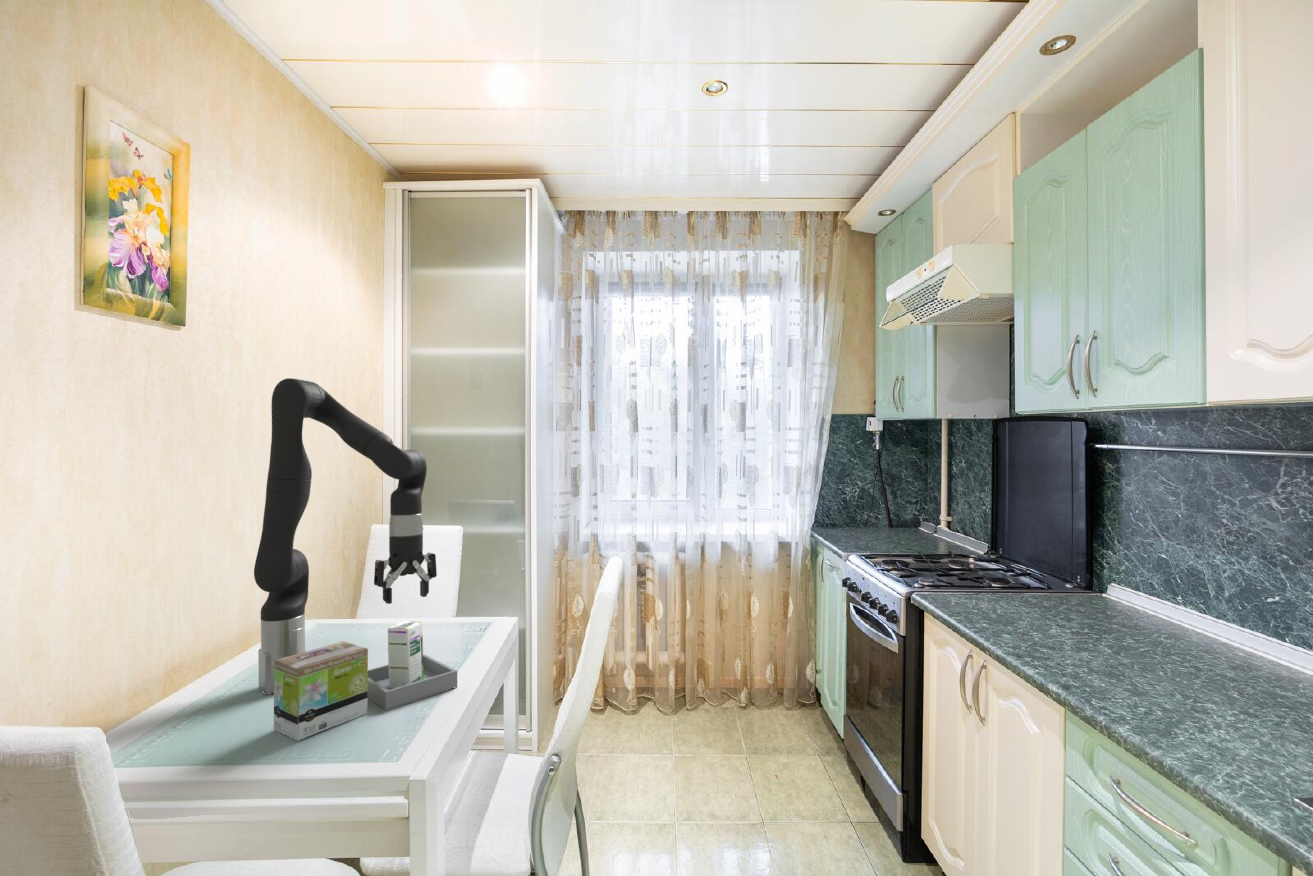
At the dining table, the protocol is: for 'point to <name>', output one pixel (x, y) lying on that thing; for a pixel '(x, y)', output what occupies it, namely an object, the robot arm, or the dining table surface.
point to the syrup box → (405, 653)
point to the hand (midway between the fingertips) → (406, 599)
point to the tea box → (320, 689)
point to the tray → (434, 682)
